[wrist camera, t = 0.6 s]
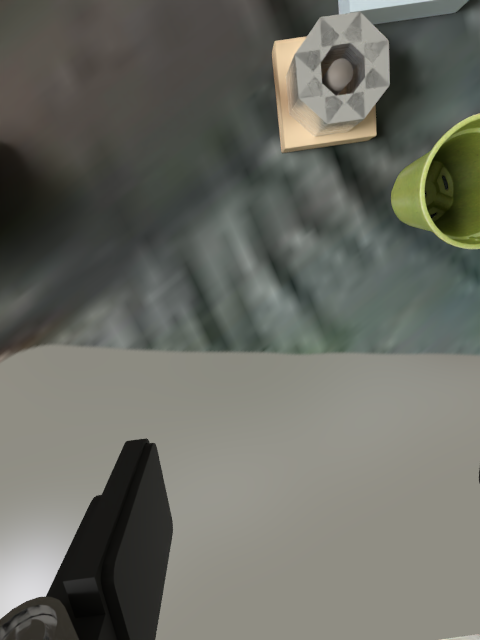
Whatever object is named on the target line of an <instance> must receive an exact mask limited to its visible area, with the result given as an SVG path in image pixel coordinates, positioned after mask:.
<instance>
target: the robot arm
mask: <svg viewBox="0 0 480 640" xmlns="http://www.w3.org/2000/svg"><path fill="white" fill-rule="evenodd" d="M479 482H480V471H479ZM172 533H173V524H172V517H171V512H170V508H169V503H168V498H167V493H166V489H165V484H164V480H163V475H162V470H161V465H160V461H159V456H158V452H157V447H156V444H155V443H149V441H148V439H139V440H132V441H127V442H126V443H125V444H124V446H123V449H122V451H121V453H120V455H119V458H118V460H117V462H116V464H115V467H114V469H113V471H112V473H111V475H110V478H109V480H108V482H107V484H106V487H105V489H104V491H103V493H102V495H99V496H96V497H94V498H93V500H92V501H91V503H90V505H89V507H88V509H87V511H86V513H85V516H84V518H83V520H82V522H81V524H80V526H79V528H78V530H77V532H76V534H75V537H74V539H73V541H72V543H71V545H70V547H69V549H68V551H67V554H66V555H65V558H64V560H63V562H62V564H61V566H60V568H59V570H58V572H57V575H56V577H55V579H54V581H53V583H52V585H51V587H50V589H49V591H48V593H47V596H46V597H38V598H35V599H32V600H29V601H26V602H25V603H23V604H21V605H19V606H18V607H16V608H14V609H12V610H11V611H10V612H9V613H8V614H6V615H5V616H4V617H3V618H1V619H0V640H155V637H156V631H157V625H158V619H159V613H160V607H161V600H162V595H163V588H164V582H165V576H166V570H167V564H168V558H169V552H170V546H171V540H172ZM440 640H480V634H476V635H469V636H462V637H454V638H447V639H440Z"/></svg>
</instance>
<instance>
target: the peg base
mask: <svg viewBox="0 0 480 640" xmlns="http://www.w3.org/2000/svg"><path fill="white" fill-rule="evenodd" d="M468 1H469V0H338V4H339V15H340V14H347V13H354V12H359V11H360V12H361V13H362V14H363V15H364V16H365V17H366V18H367V19H368V20H369V21H370V22H371V23H372V24H373V25H374V24H381V23H388V22H395V21H402V20H409V19H416V18H423V17H430V16H437V15H444V14H451V13H456V12H457V11H458V10H459V9H460V8H461V7H462V6H463V5H464V4H466V3H467V2H468Z"/></svg>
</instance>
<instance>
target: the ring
mask: <svg viewBox="0 0 480 640" xmlns="http://www.w3.org/2000/svg"><path fill="white" fill-rule="evenodd" d="M337 59H346V60H348V61H349V62H350V63H351V65H352V68H353V75H352V78H351V80H350V82H349V83H348V84H347V85H346V87H347V94H344V95H337V96H335V95H334V94H333V93H332V92H331V91H330V90H329V89H328V88H327V87H326V86H325V85H324V84H322V74H321V69H324V68H330V66H331V65H332V63H333V62H334V61H335V60H337ZM286 85H287V96H288V107H289V115H290V116H292V117H293V118H294V119H295V120H296V121H297V122H298V123H299V124H301V125H302V126H303V127H304V128H305V129H306V130H307V131H308V132H310V133H311V134H312V135H313V136H314V137H316V136H323V135H330V134H337V133H344V132H348V131H349V130H350V129H352V128H353V127H354V126H356V125H357V124H358V123H360V122H361V121H362V120H364V119H365V117H366V116H367V115H368V113H369V112H370V111H371V109H372V108H373V107H374V105H375V104H376V103H377V101H378V100H379V99H380V97H381V96H382V95H383V93H384V92H385V91H386V89H387V88H388V87H389V86H390V72H389V40H388V39H387V38H386V37H385V36H384V35H383V34H382V33H381V32H380V31H379V30H378V29H377V28H376V27H375V26H374V25H373V24H372V23H371V22H370V21H369V20H368V19H367V18H366V17H365V16H364V15H363V14H362V13H361V12H360V11H359V12H354V13H347V14H340V15H333V16H326V17H320V18H319V20H318V21H317V23H316V24H315V26H314V27H313V29H312V30H311V32H310V33H309V34H308V36H307V37H306V39H305V40H304V42H303V43H302V45H301V46H300V48H299V49H298V50H297V52H296V53H295V55H294V57H293V59H292V62H291V64H290V67H289V69H288V72H287V74H286Z"/></svg>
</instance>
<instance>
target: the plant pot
mask: <svg viewBox="0 0 480 640" xmlns="http://www.w3.org/2000/svg"><path fill="white" fill-rule="evenodd" d="M442 176H445V178H446V181H447V182H448V189H447V190H445V187H444V183H443V179H442ZM425 191H426V193H427V195H426V196H425ZM391 203H392V207H393V210H394V212H395V214H396V216H397V217H398V218H399V219H400V220H401V221H402V222H404V223H406V224H408V225H410V226H413V227H416V228H420V229H424V230H428V231H432V232H434V233H435V234H436V235H437V236H438V237H439V238H440V239H442V240H443V241H445V242H446V243H448V244H451V245H453V246H456V247H460V248H465V249H480V113H479V114H476V115H473V116H471V117H469V118H467V119H465V120H463V121H461V122H459V123H458V124H456V125H455V126H454V127H452V128H451V129H450V130H449V131H448V132H446V133H445V134H444V135H443V136H442V137H441V138H440V139H439V141H438V142H437V143H436V144H435V146H434V147H433V148H432V150H431V151H430V152H428V153H427V154H425V155H424V156H422V157H421V158H419V159H417V160H416V161H414V162H413V163H411V164H410V165H408V166H407V167H406V168H405V169H403V170H402V171H401V172H400V174H399V175H398V177H397V179H396V181H395V184H394V187H393V189H392V192H391ZM435 212H436V215H435V216H434V217H433V218H432V219H431V217H430V215H432V214H435Z"/></svg>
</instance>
